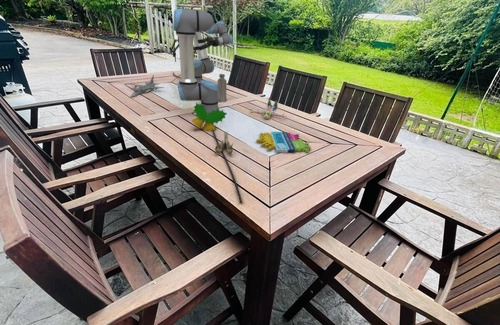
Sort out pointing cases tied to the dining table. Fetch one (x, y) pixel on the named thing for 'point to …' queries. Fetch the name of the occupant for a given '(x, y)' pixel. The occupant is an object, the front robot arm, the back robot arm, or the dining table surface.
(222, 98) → the bottle
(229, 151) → the jawbone
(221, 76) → the cap
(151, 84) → the airplane
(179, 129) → the dining table surface
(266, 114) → the toy
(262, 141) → the sign
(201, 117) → the ornament
